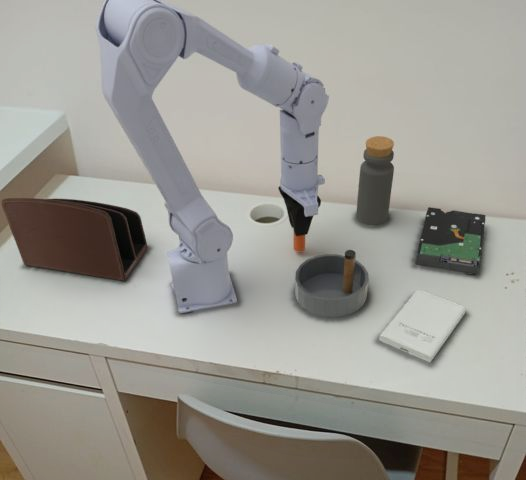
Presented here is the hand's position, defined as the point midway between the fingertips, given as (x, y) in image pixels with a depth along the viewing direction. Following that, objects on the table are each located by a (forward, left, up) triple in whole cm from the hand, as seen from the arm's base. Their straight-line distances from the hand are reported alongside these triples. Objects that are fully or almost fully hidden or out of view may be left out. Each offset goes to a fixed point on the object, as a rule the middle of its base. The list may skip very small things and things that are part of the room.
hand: (299, 230), depth 98 cm
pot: (+2, -12, -5) cm, 13 cm away
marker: (0, 0, -4) cm, 4 cm away
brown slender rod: (+5, -12, -5) cm, 14 cm away
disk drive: (+26, -5, -5) cm, 27 cm away
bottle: (+16, +7, -5) cm, 18 cm away
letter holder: (-37, +10, -5) cm, 38 cm away
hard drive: (+13, -23, -5) cm, 27 cm away
